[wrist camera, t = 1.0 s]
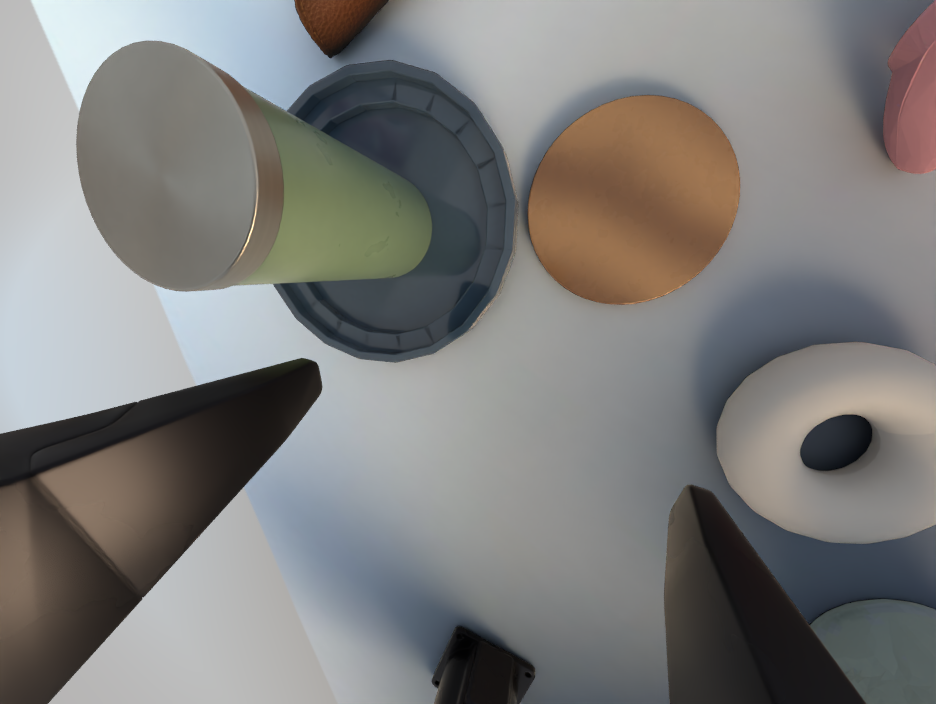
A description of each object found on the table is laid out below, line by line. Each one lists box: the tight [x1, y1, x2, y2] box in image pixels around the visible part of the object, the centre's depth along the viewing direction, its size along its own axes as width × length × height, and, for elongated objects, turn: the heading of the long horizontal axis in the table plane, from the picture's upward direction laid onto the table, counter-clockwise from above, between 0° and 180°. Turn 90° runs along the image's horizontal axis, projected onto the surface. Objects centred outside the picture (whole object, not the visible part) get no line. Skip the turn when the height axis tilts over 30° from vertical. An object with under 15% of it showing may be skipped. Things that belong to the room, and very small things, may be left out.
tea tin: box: [76, 41, 432, 291], centre depth 16 cm, size 6×6×13 cm
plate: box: [273, 60, 519, 363], centre depth 22 cm, size 16×16×2 cm
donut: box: [717, 342, 936, 544], centre depth 17 cm, size 10×3×10 cm
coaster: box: [528, 95, 740, 305], centre depth 19 cm, size 10×10×1 cm
